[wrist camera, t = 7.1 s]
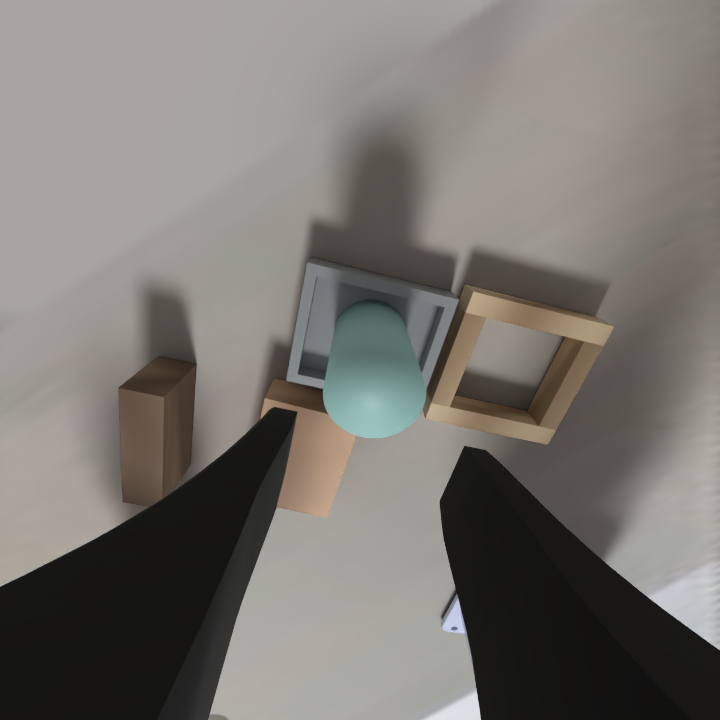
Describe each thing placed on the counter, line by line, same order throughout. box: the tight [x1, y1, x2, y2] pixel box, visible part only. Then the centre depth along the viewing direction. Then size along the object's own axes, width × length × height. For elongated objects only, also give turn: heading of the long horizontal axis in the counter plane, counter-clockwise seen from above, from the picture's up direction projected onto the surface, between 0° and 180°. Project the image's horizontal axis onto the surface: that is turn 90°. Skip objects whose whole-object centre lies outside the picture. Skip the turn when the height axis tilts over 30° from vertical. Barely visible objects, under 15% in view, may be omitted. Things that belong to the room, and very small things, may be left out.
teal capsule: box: [323, 299, 426, 438], centre depth 15 cm, size 4×4×6 cm
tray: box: [286, 257, 459, 389], centre depth 18 cm, size 7×6×2 cm
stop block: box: [118, 356, 196, 507], centre depth 19 cm, size 2×7×4 cm, turn 167°
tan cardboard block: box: [260, 378, 356, 518], centre depth 21 cm, size 5×7×2 cm
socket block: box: [423, 284, 614, 445], centre depth 19 cm, size 7×7×2 cm
